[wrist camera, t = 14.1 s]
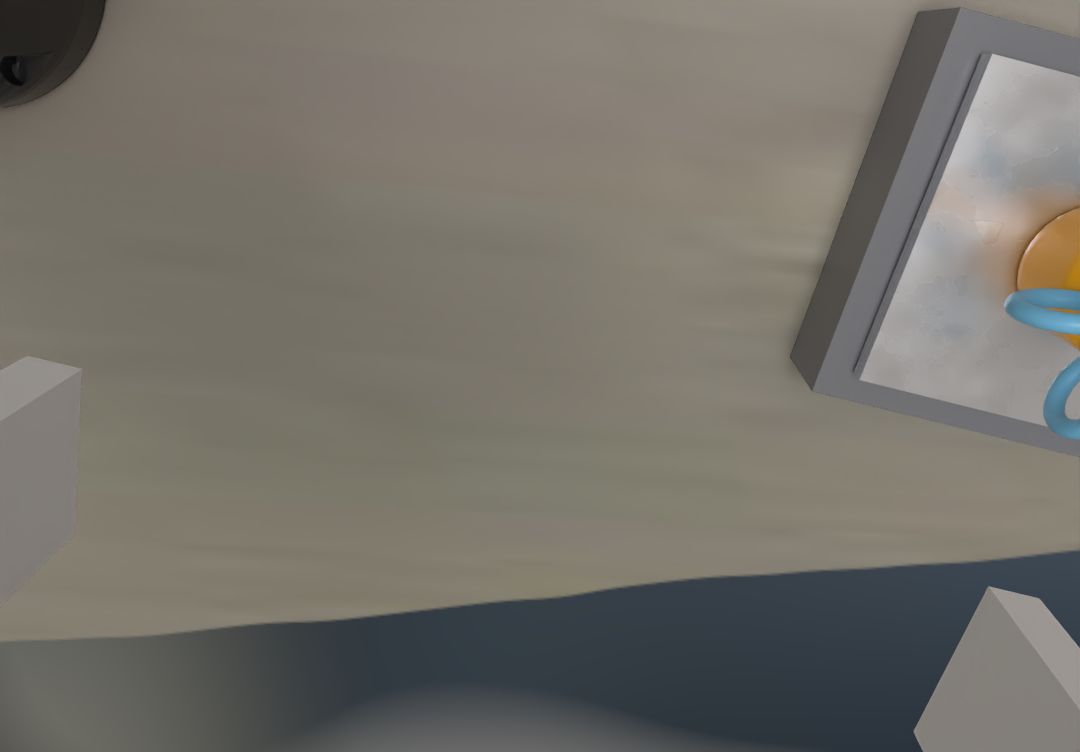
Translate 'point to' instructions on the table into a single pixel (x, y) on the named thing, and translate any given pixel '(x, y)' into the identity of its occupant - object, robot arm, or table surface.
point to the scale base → (912, 210)
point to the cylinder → (1053, 306)
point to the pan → (983, 250)
